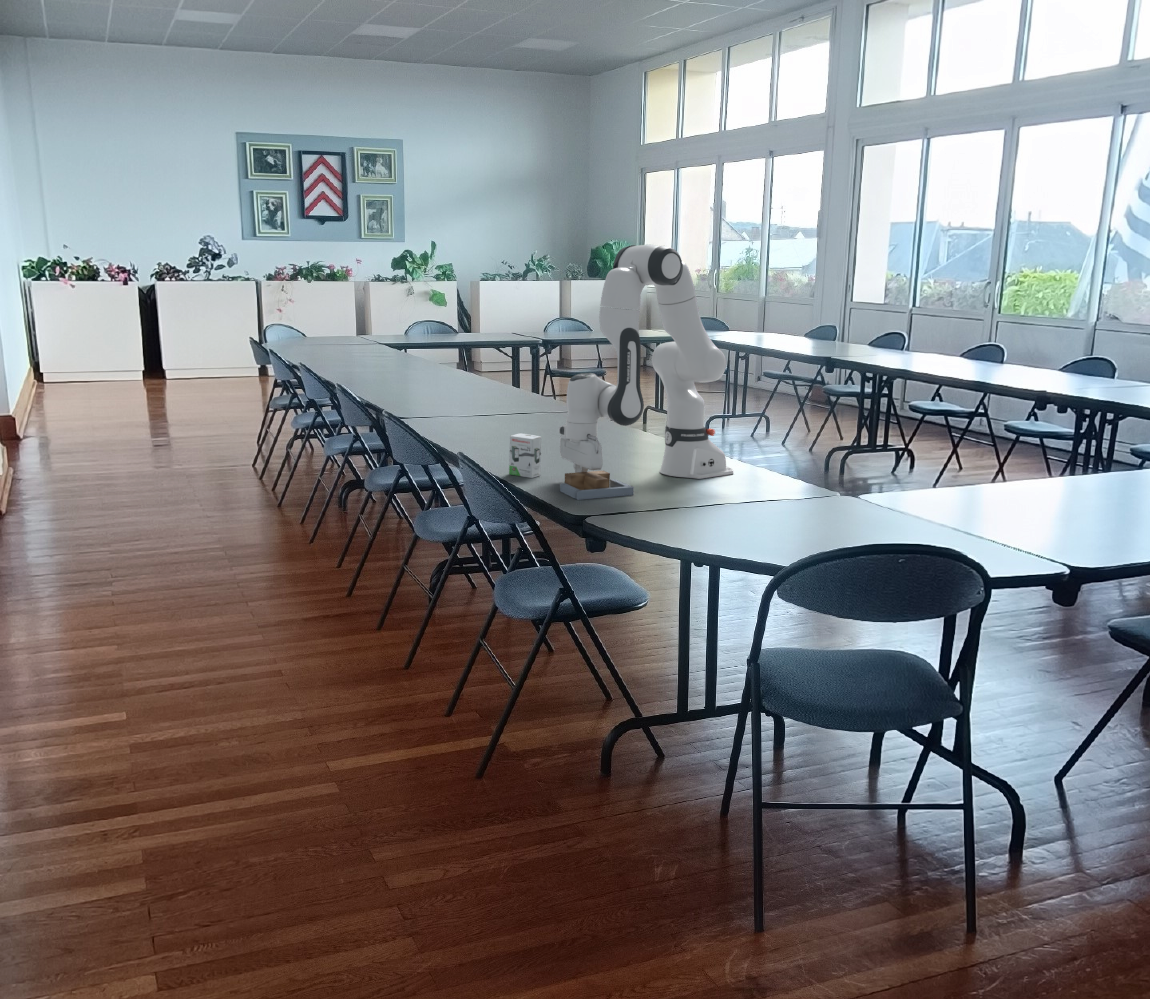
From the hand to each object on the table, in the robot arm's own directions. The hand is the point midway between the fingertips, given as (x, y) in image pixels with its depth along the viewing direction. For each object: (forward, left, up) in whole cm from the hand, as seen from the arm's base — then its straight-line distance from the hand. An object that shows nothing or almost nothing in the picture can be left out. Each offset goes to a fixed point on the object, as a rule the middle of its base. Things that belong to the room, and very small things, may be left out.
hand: (580, 480), depth 298 cm
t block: (0, +8, -2) cm, 8 cm away
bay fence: (0, +10, -2) cm, 10 cm away
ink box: (+9, -19, -2) cm, 21 cm away
